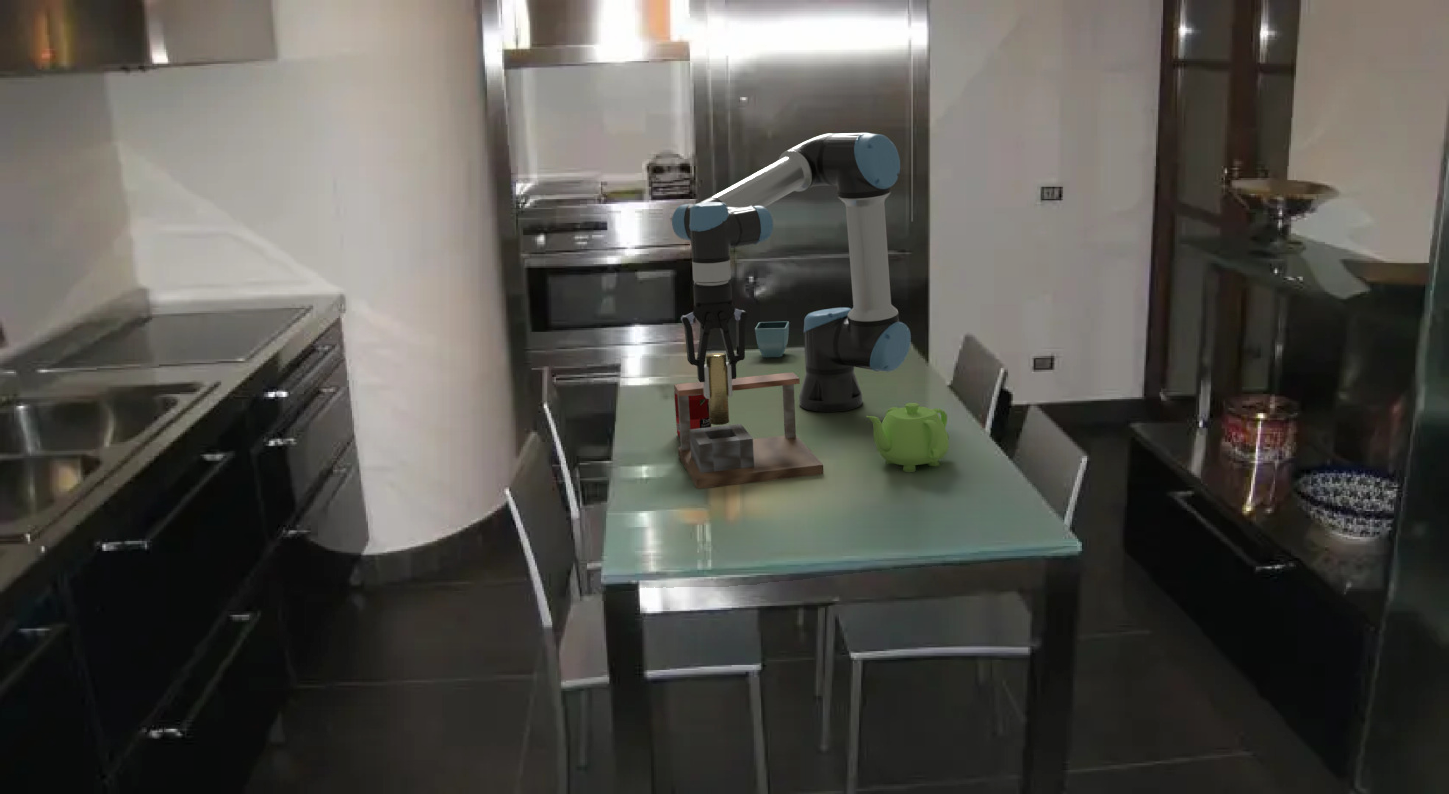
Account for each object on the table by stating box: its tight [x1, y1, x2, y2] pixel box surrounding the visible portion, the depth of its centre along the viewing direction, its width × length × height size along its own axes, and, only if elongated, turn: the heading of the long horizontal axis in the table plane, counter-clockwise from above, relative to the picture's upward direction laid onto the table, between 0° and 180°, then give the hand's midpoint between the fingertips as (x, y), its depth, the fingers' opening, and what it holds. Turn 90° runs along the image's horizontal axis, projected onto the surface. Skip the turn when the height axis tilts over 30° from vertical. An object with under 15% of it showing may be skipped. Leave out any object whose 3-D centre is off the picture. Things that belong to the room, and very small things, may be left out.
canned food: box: [673, 389, 712, 438], centre depth 278 cm, size 8×8×11 cm
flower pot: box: [754, 321, 790, 359], centre depth 348 cm, size 9×9×9 cm
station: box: [673, 371, 824, 490], centre depth 255 cm, size 26×22×16 cm
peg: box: [705, 352, 730, 426], centre depth 249 cm, size 4×4×14 cm
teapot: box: [866, 402, 950, 473], centre depth 250 cm, size 16×14×13 cm
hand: (718, 395), depth 249 cm, fingers closed on peg, 4 cm apart
